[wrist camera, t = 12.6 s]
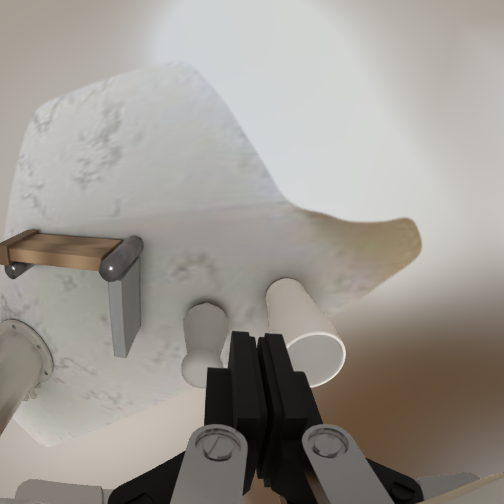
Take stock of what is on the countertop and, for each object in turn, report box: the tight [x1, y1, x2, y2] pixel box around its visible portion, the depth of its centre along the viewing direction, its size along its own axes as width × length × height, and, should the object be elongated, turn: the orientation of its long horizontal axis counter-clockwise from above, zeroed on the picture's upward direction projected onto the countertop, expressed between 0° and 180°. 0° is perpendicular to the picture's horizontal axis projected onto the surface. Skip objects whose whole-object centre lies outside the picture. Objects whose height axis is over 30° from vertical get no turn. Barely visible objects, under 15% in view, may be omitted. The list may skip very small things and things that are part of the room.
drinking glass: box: [266, 278, 346, 388], centre depth 35 cm, size 7×7×15 cm
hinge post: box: [99, 235, 143, 282], centre depth 34 cm, size 2×2×10 cm
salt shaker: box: [182, 302, 229, 388], centre depth 36 cm, size 6×6×13 cm
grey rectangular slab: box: [108, 257, 141, 358], centre depth 36 cm, size 10×2×8 cm, turn 173°
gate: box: [0, 230, 121, 271], centre depth 33 cm, size 15×2×8 cm, turn 84°
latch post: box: [5, 261, 36, 279], centre depth 34 cm, size 2×2×7 cm
